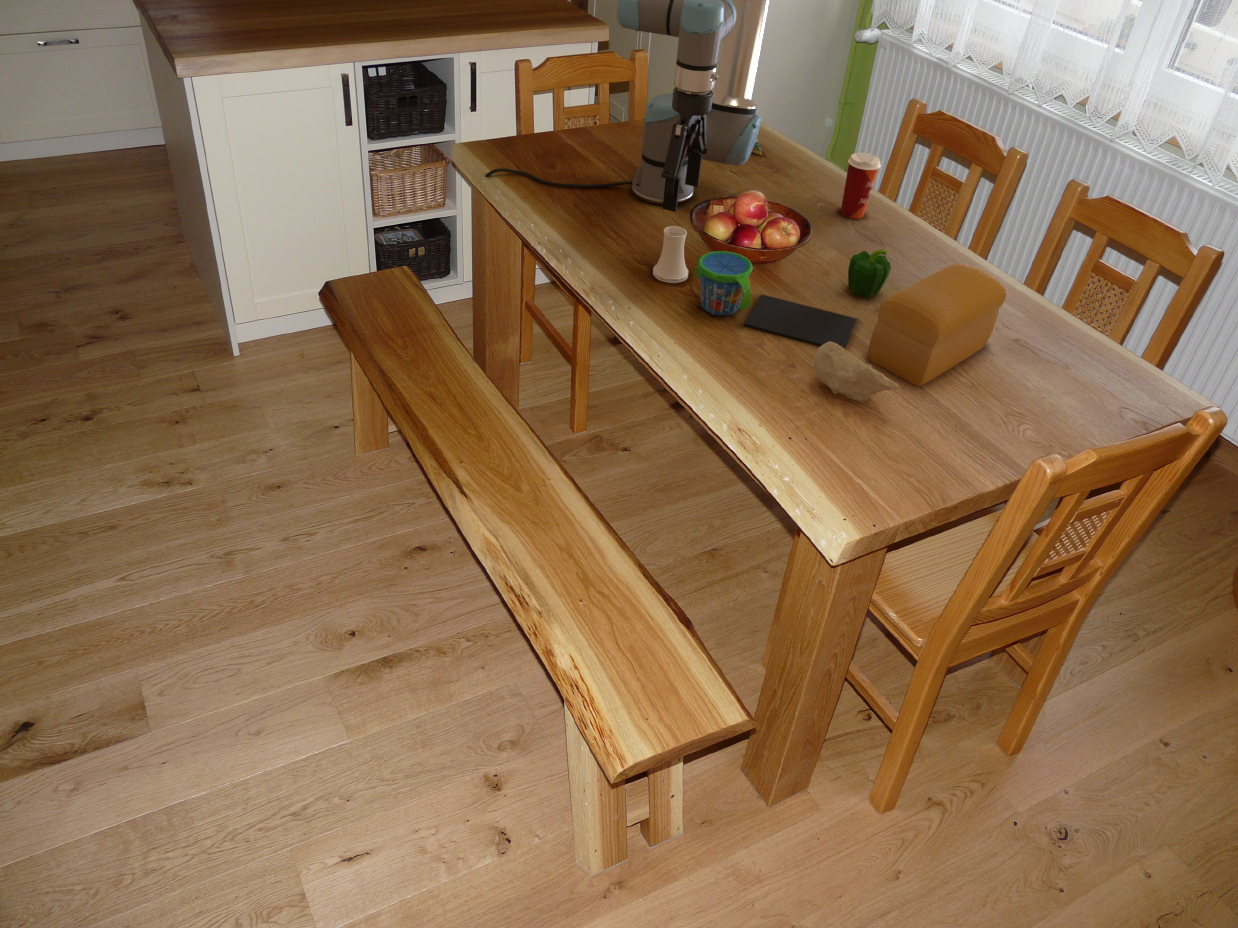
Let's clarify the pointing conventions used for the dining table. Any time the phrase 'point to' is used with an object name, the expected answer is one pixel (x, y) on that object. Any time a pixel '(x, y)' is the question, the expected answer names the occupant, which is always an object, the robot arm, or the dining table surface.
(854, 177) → the paper cup
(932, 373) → the bread
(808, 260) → the dining table surface
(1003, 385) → the dining table surface
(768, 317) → the placemat
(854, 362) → the beige lumpy piece
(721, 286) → the snack cup
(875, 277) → the bell pepper
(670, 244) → the vase
